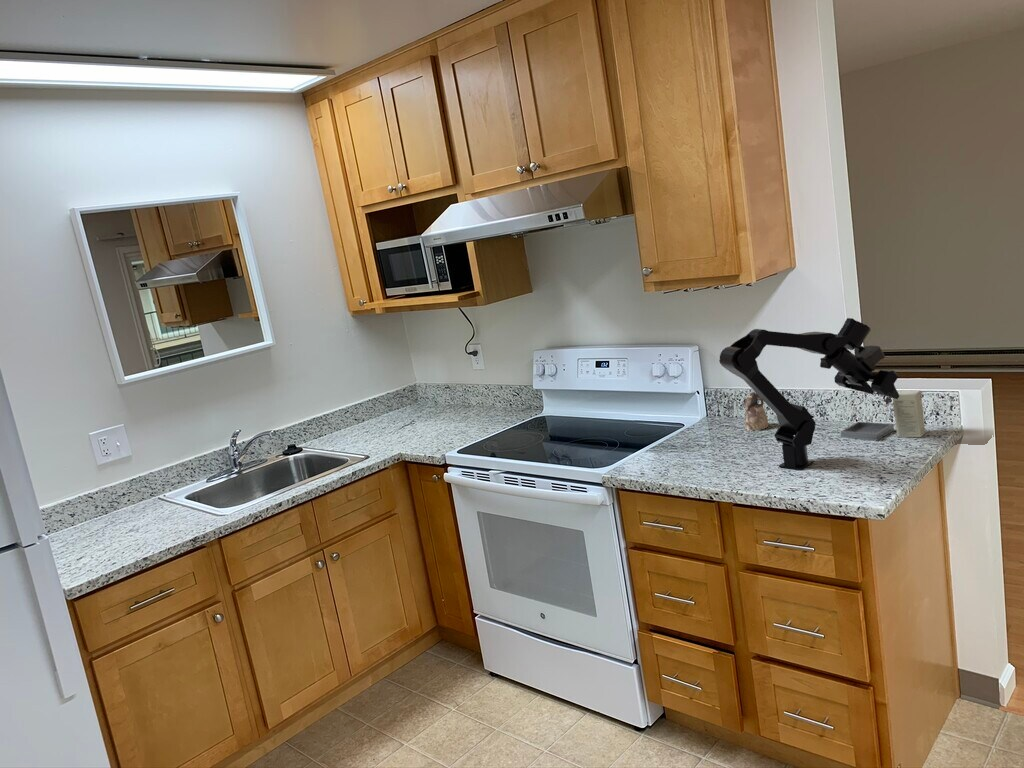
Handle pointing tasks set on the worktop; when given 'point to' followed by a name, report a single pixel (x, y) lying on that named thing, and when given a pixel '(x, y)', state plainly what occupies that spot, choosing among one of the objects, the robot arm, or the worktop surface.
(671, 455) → the worktop surface
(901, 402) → the skincare box
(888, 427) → the square gray open tray
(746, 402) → the figurine
